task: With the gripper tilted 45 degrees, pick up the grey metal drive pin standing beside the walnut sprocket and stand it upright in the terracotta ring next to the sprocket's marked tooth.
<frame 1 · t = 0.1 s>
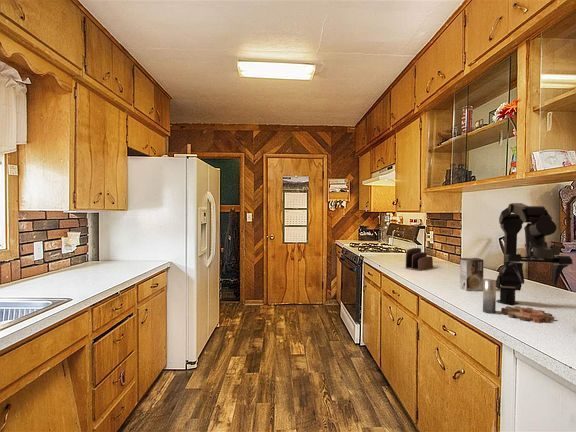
hand: (538, 284, 115), 15 cm above the countertop, tool pointing down, fingers open, 9 cm apart
letter holder: (419, 268, 234), on the countertop
coffee box: (471, 289, 172), on the countertop
sprocket: (526, 315, 131), on the countertop
drive pin: (489, 311, 135), on the countertop
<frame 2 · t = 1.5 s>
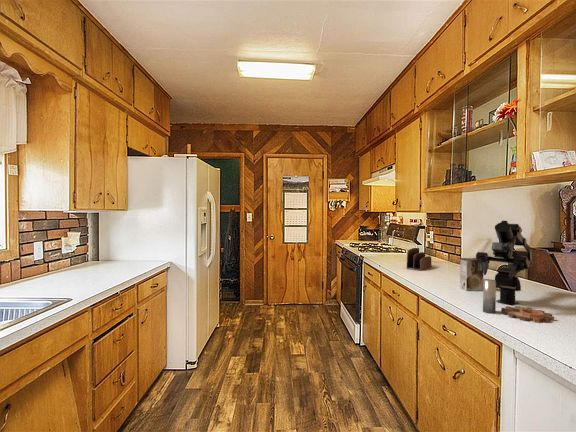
hand: (496, 276, 138), 14 cm above the countertop, tool tilted 45°, fingers open, 9 cm apart
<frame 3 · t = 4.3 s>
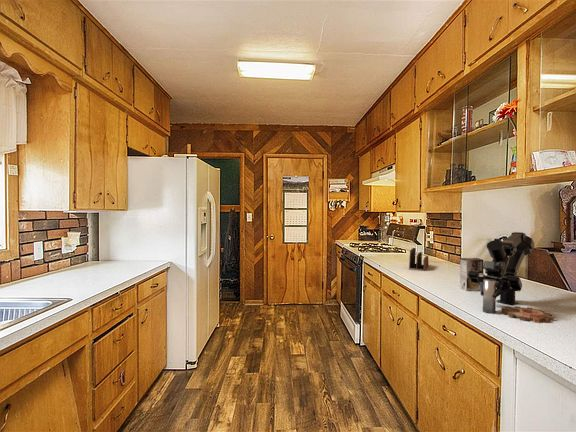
hand: (488, 296, 134), 7 cm above the countertop, tool tilted 45°, fingers closed on drive pin, 4 cm apart
drive pin: (489, 311, 135), on the countertop, touching gripper
when the fingers open (9 cm above the countertop, at t = 8.0 s): drive pin stays where it is, resting on sprocket.
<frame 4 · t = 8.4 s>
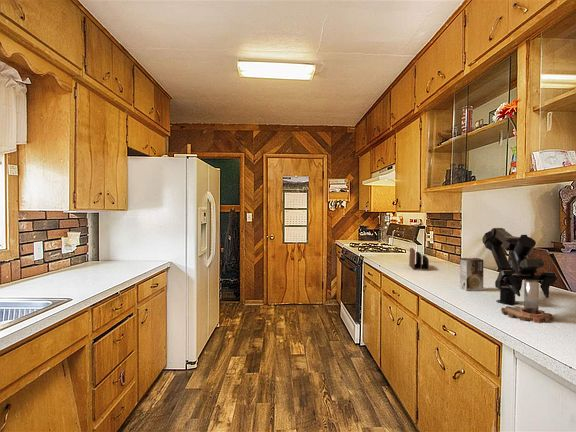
hand: (533, 296, 125), 9 cm above the countertop, tool tilted 45°, fingers open, 9 cm apart
drive pin: (531, 315, 127), point 1 cm above the countertop, touching sprocket
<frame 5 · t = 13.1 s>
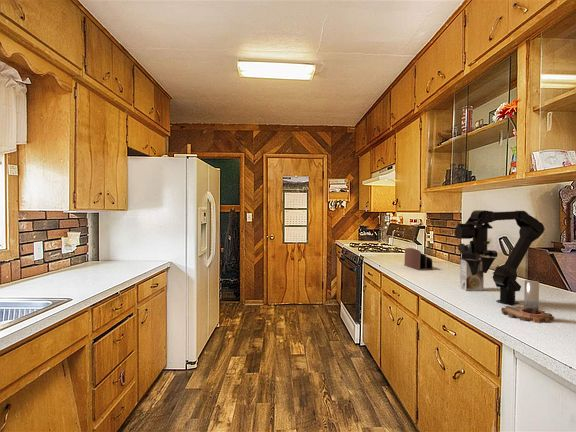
hand: (479, 274, 147), 13 cm above the countertop, tool pointing down, fingers open, 9 cm apart
at the end: drive pin 0.1 cm from the target spot on the sprocket, point 1.2 cm above the sprocket's base; drive pin tilted 0°; the gripper is holding nothing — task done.
